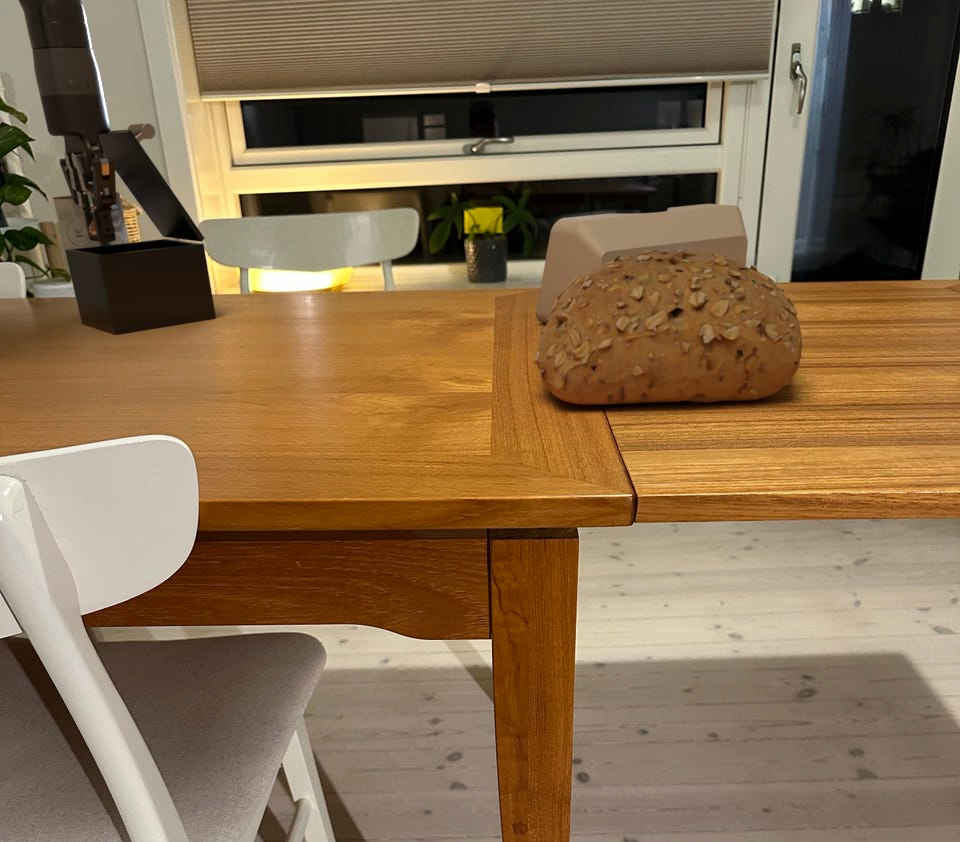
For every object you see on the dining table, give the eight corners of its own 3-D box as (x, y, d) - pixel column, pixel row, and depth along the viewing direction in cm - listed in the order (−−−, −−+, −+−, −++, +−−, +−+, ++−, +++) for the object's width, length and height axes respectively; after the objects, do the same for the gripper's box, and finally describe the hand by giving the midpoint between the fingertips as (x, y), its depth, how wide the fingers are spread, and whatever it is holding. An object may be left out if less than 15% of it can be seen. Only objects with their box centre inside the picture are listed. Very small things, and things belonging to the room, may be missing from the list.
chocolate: (101, 243, 126) (94, 209, 124) (89, 242, 127) (82, 210, 125) (118, 240, 128) (111, 207, 126) (106, 240, 129) (99, 208, 127)
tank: (607, 344, 109) (610, 225, 103) (533, 323, 121) (532, 216, 115) (771, 316, 119) (783, 207, 113) (688, 300, 131) (694, 201, 125)
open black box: (115, 334, 127) (98, 255, 122) (82, 323, 135) (64, 249, 131) (216, 318, 135) (203, 243, 130) (178, 309, 143) (165, 238, 139)
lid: (125, 132, 119) (154, 109, 120) (89, 134, 128) (117, 113, 129) (201, 242, 130) (227, 219, 131) (162, 237, 138) (187, 216, 140)
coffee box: (121, 315, 140) (95, 195, 133) (78, 317, 141) (50, 197, 133) (143, 304, 148) (120, 191, 141) (102, 306, 149) (77, 193, 141)
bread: (756, 354, 101) (767, 232, 95) (819, 407, 82) (838, 259, 77) (526, 364, 101) (524, 242, 96) (537, 419, 83) (535, 272, 77)
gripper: (122, 88, 117) (150, 241, 125) (81, 94, 126) (110, 235, 134) (60, 89, 112) (94, 247, 121) (23, 95, 122) (57, 241, 130)
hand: (102, 240), depth 127 cm, fingers closed on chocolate, 2 cm apart
